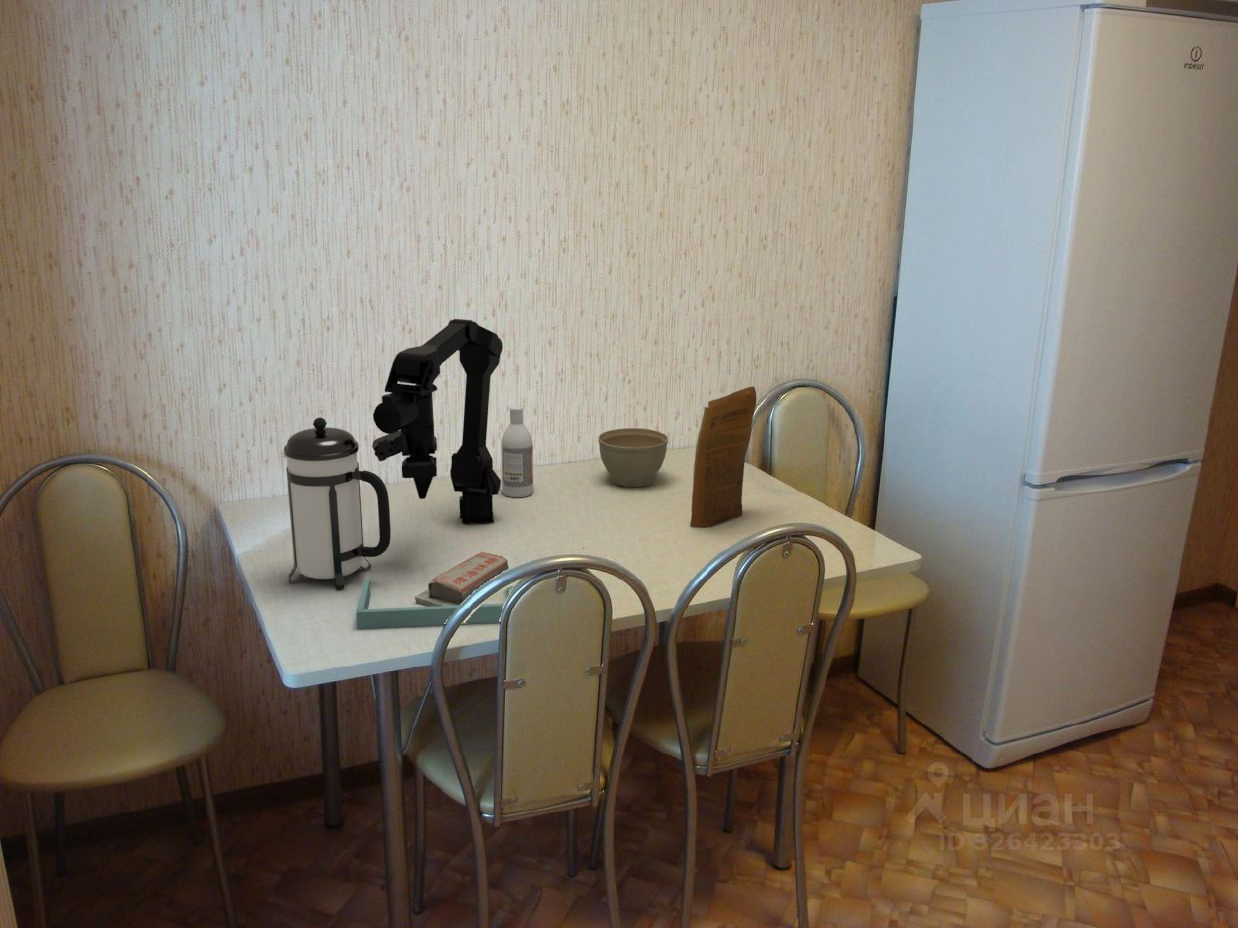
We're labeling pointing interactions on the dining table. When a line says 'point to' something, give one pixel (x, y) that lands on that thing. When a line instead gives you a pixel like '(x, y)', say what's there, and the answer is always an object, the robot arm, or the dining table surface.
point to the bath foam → (517, 457)
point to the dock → (417, 613)
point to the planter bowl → (632, 455)
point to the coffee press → (330, 504)
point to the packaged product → (462, 580)
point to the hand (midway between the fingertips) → (422, 498)
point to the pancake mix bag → (722, 458)
